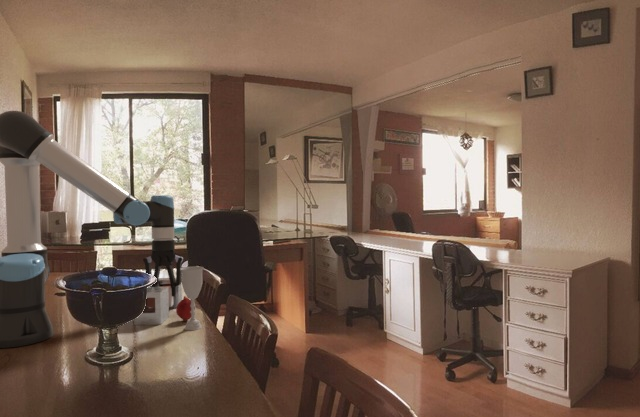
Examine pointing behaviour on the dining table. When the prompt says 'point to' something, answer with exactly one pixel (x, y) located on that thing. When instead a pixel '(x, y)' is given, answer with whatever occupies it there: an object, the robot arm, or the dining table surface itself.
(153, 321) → the plate
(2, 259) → the robot arm
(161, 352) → the dining table surface
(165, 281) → the socket
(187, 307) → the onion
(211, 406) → the dining table surface
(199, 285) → the chalice
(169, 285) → the pink square post
